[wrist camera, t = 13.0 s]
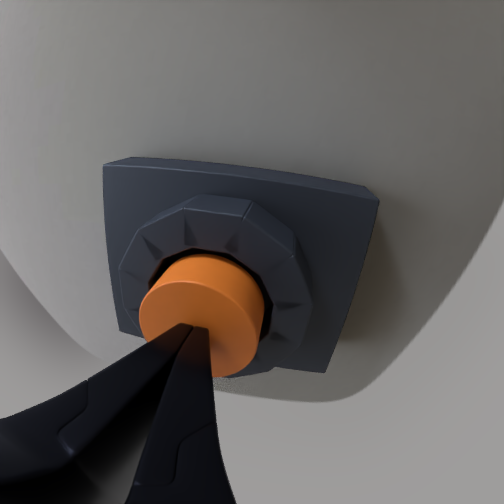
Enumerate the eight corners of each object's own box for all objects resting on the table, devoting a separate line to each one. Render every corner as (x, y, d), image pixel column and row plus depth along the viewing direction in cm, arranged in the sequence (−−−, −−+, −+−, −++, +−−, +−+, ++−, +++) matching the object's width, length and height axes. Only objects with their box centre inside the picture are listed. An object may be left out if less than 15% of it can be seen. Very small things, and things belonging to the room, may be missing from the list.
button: (272, 263, 9) (266, 295, 7) (257, 351, 10) (250, 387, 9) (158, 244, 9) (132, 269, 7) (163, 331, 10) (145, 362, 9)
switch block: (365, 186, 11) (397, 215, 7) (322, 342, 14) (326, 404, 10) (130, 156, 12) (71, 173, 8) (137, 307, 15) (101, 354, 11)
